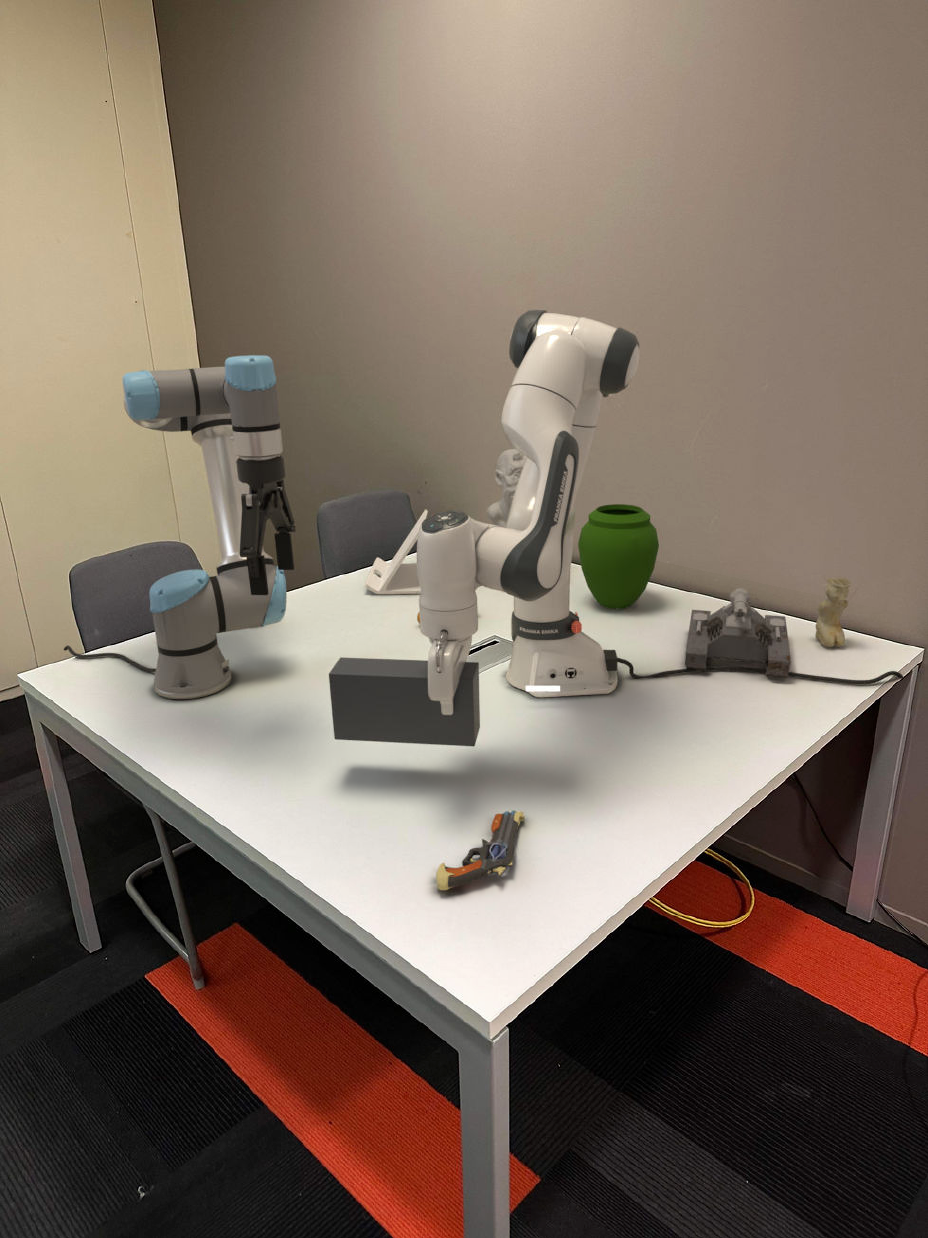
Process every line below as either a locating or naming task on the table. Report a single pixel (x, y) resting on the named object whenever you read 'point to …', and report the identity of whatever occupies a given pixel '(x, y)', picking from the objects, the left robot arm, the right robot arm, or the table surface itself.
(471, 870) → the toy gun
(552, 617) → the right robot arm
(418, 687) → the box
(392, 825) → the table surface
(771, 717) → the table surface
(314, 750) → the table surface
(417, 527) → the tablet stand
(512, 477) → the bust sculpture
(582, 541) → the vase
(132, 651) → the table surface
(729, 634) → the toy
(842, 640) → the sculpture
